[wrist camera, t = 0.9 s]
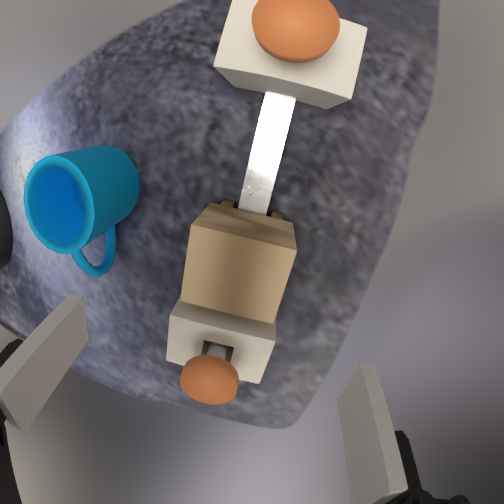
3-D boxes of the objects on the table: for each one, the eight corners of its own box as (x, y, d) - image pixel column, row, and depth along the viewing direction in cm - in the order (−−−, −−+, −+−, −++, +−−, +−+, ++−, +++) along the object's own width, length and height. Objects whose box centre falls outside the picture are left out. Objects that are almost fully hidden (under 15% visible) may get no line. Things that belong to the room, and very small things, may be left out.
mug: (69, 155, 26) (16, 169, 19) (132, 136, 25) (82, 143, 18) (93, 259, 31) (52, 294, 23) (155, 253, 30) (119, 294, 22)
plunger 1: (193, 351, 24) (178, 396, 20) (199, 315, 23) (181, 360, 18) (239, 362, 24) (231, 409, 20) (249, 328, 23) (242, 375, 18)
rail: (225, 270, 30) (222, 279, 28) (267, 93, 23) (266, 90, 21) (249, 275, 30) (247, 286, 28) (294, 100, 23) (296, 98, 21)
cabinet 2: (231, 86, 23) (208, 65, 14) (244, 36, 21) (229, -5, 12) (326, 109, 23) (351, 99, 15) (338, 58, 21) (367, 27, 13)
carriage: (204, 256, 29) (180, 300, 21) (215, 197, 26) (191, 224, 19) (274, 274, 29) (272, 323, 22) (291, 215, 27) (297, 250, 19)
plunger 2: (251, 69, 16) (242, 47, 11) (266, 15, 14) (262, -20, 9) (316, 84, 16) (330, 68, 11) (329, 30, 14) (346, -1, 9)
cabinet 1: (189, 303, 31) (162, 359, 23) (195, 262, 29) (166, 313, 21) (264, 321, 32) (259, 383, 23) (276, 282, 30) (275, 341, 21)
